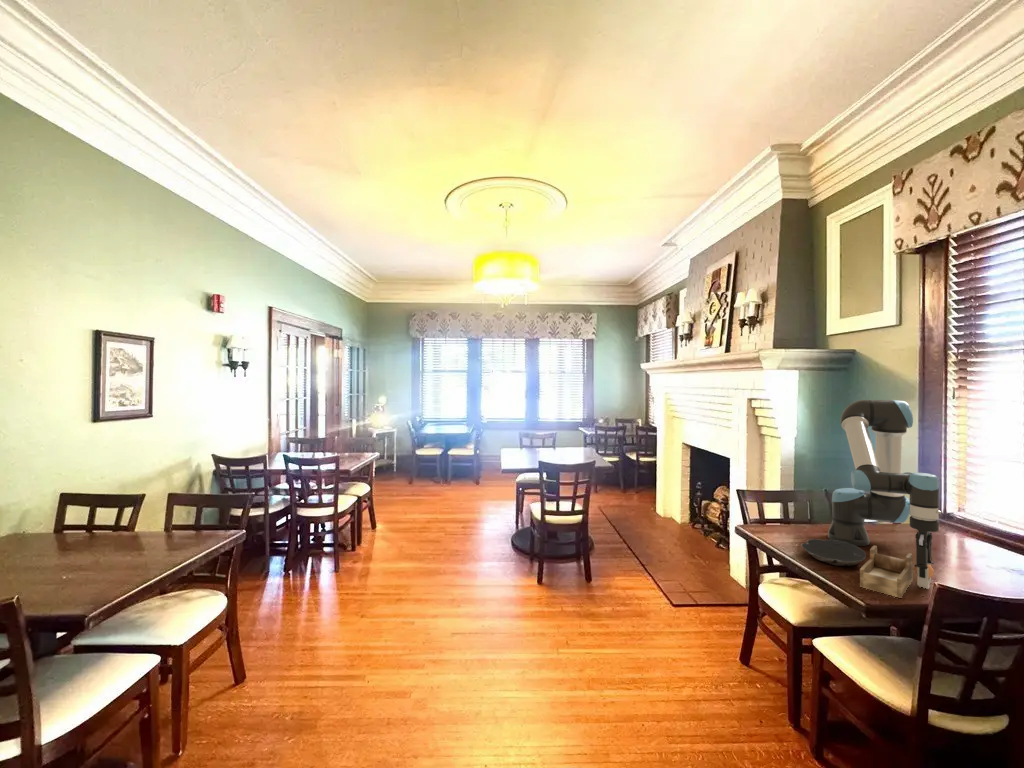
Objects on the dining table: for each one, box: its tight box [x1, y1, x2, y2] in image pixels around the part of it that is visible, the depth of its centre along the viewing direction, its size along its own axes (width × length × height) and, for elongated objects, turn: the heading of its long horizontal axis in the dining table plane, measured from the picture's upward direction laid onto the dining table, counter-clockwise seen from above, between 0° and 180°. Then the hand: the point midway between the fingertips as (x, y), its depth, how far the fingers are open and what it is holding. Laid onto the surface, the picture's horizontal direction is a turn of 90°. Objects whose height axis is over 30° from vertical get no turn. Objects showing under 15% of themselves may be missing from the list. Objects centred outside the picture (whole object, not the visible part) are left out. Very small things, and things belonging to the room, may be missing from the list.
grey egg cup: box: [918, 577, 932, 590], centre depth 155 cm, size 3×3×4 cm
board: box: [801, 538, 867, 567], centre depth 179 cm, size 22×22×5 cm
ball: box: [914, 564, 935, 578], centre depth 155 cm, size 5×5×5 cm
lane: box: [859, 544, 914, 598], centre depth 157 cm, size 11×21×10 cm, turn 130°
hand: (924, 583), depth 155 cm, fingers closed on ball, 5 cm apart
